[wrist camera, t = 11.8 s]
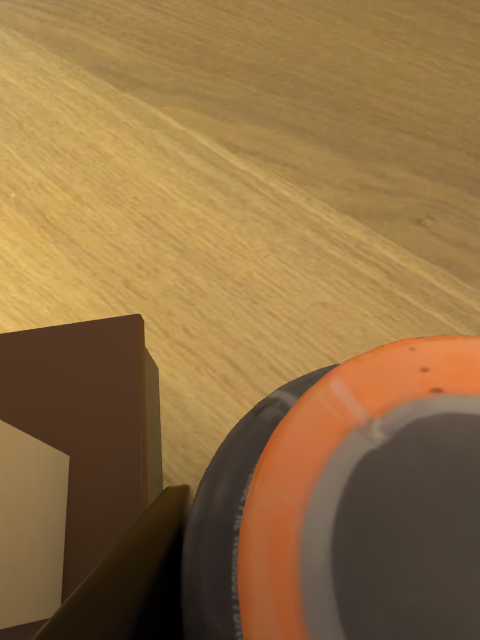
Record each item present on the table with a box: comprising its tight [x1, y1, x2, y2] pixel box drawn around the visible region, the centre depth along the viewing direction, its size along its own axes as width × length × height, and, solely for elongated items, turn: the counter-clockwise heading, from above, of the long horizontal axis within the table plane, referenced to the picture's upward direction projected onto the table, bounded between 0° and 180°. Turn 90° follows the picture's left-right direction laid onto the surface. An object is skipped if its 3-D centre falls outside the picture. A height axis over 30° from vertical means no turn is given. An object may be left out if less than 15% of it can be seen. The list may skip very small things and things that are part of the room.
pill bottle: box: [180, 335, 480, 640], centre depth 8 cm, size 6×6×11 cm
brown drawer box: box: [0, 314, 163, 640], centre depth 19 cm, size 12×10×5 cm
